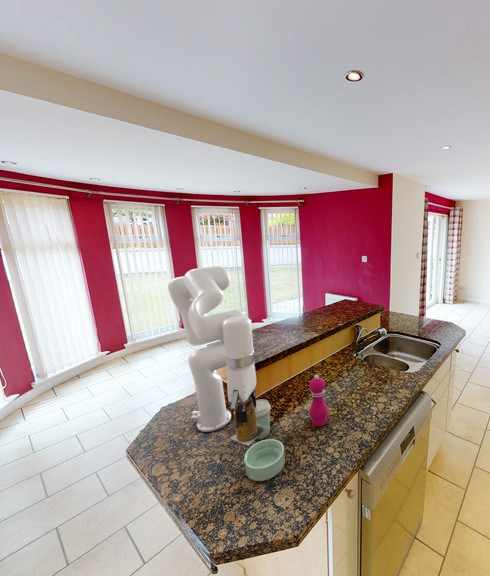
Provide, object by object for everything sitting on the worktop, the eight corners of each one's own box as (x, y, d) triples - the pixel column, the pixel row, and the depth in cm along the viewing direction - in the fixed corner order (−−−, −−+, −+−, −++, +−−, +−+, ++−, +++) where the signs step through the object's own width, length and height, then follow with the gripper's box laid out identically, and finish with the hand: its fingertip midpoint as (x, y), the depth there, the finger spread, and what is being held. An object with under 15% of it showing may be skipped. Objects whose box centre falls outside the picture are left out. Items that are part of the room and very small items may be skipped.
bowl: (239, 482, 85) (237, 468, 84) (254, 451, 97) (253, 439, 96) (278, 482, 85) (277, 468, 84) (289, 451, 97) (288, 439, 96)
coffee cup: (249, 429, 109) (245, 401, 106) (272, 423, 111) (269, 396, 109) (249, 444, 101) (246, 414, 98) (274, 437, 104) (271, 408, 101)
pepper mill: (325, 428, 108) (322, 380, 104) (307, 426, 109) (304, 379, 105) (330, 416, 115) (328, 371, 111) (313, 414, 116) (310, 370, 112)
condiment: (230, 439, 85) (225, 403, 82) (250, 421, 92) (247, 388, 90) (248, 446, 82) (244, 409, 79) (268, 427, 89) (265, 393, 87)
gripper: (240, 346, 89) (246, 397, 93) (212, 374, 73) (220, 435, 76) (263, 346, 89) (268, 397, 93) (240, 374, 72) (247, 435, 76)
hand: (246, 413), depth 85 cm, fingers closed on condiment, 6 cm apart
